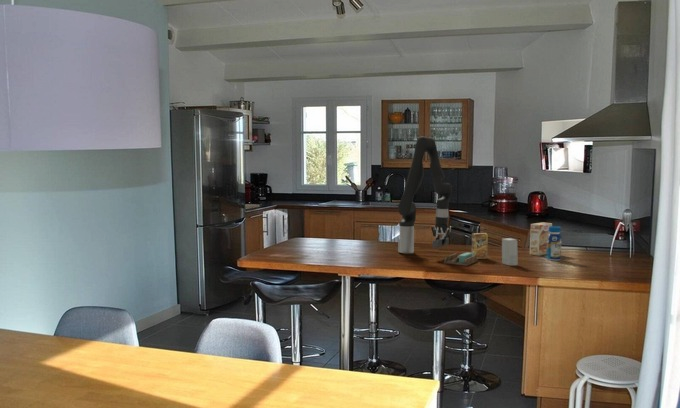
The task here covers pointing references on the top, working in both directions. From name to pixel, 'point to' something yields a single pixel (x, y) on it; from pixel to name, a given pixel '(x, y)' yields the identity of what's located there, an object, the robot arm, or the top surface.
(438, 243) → the charcoal stick
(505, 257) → the skincare box
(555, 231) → the beverage bottle
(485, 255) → the candy box
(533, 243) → the coffeecake box
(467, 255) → the teal stick
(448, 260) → the comb rack
